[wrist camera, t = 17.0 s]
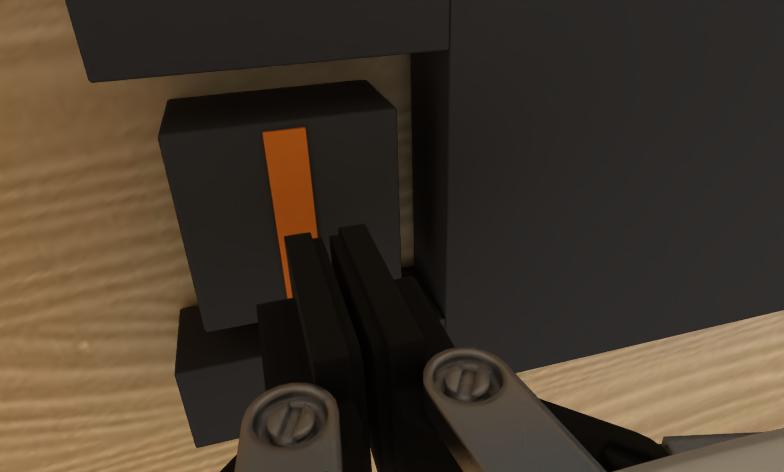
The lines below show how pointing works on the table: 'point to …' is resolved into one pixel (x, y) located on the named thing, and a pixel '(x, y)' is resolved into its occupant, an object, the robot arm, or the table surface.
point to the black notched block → (521, 162)
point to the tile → (276, 185)
